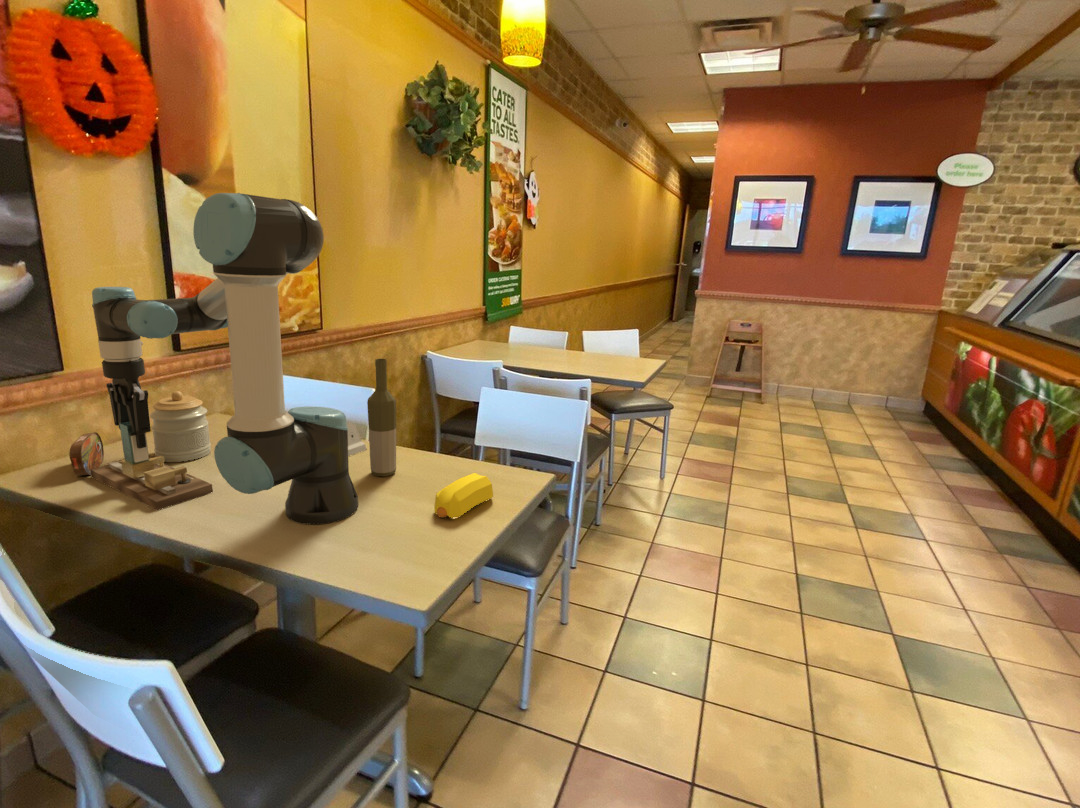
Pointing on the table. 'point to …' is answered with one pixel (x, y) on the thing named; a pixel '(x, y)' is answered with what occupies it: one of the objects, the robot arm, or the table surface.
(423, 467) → the table surface
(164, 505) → the gauge board
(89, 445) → the tin
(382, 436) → the bottle
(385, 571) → the table surface
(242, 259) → the robot arm
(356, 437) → the hinge
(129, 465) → the slider
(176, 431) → the jar
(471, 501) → the yellow rounded bar
